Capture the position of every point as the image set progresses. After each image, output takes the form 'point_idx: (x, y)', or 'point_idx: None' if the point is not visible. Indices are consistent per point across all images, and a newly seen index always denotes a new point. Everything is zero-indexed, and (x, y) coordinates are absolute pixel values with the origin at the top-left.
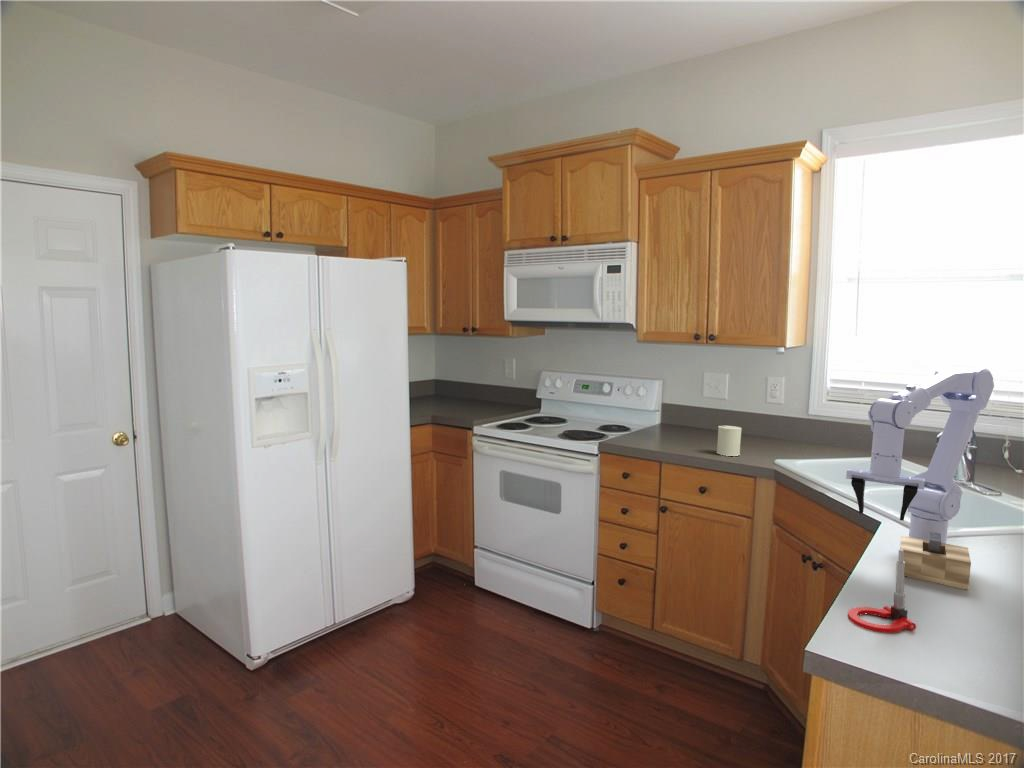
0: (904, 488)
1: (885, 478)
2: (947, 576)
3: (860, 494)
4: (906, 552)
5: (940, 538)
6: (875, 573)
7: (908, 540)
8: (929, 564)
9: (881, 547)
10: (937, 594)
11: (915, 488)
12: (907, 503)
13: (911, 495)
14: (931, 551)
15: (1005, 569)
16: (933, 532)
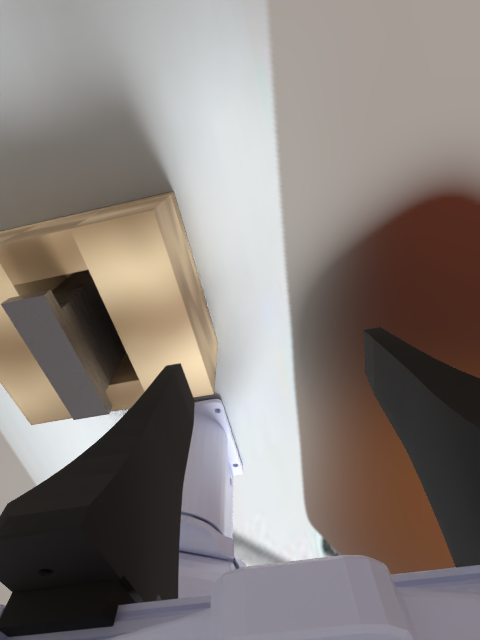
0: (97, 558)
1: (269, 626)
2: (24, 229)
3: (452, 389)
4: (129, 214)
5: (36, 357)
6: (230, 140)
7: (177, 360)
8: (62, 225)
9: (282, 406)
10: (5, 84)
11: (25, 600)
12: (111, 434)
13: (45, 490)
14: (68, 293)
15: (36, 456)
16: (95, 415)
